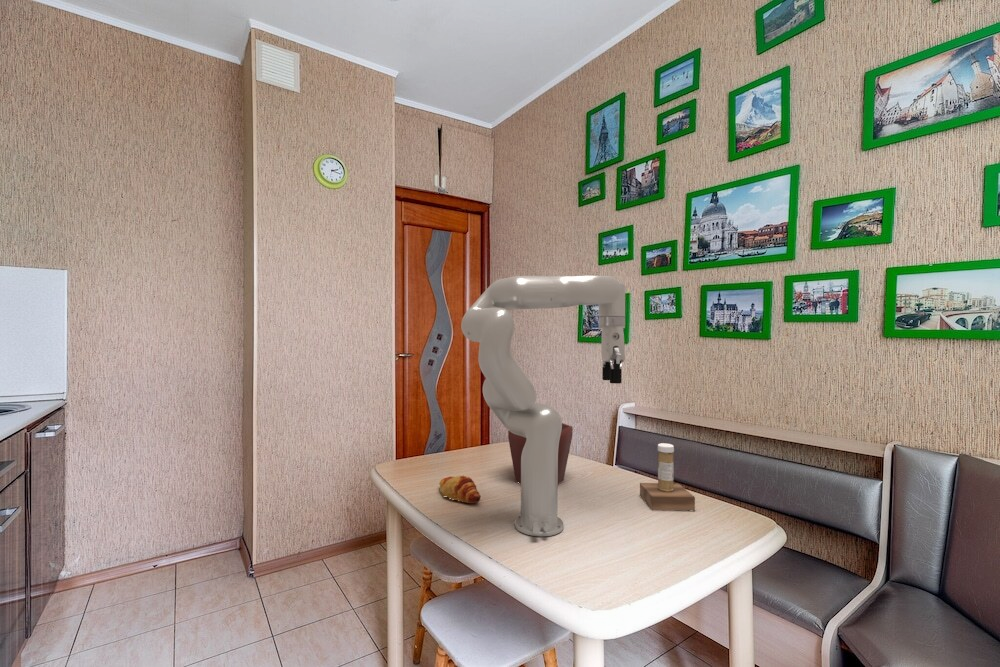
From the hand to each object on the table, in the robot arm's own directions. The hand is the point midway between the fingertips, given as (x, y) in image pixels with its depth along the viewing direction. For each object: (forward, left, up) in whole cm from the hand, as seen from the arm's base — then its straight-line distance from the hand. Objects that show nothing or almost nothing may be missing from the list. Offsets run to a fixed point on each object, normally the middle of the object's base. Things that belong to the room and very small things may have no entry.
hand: (611, 381), depth 130 cm
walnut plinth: (+3, -17, -36) cm, 40 cm away
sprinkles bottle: (+3, -17, -32) cm, 37 cm away
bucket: (+24, +19, -36) cm, 48 cm away
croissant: (+7, +45, -37) cm, 58 cm away
